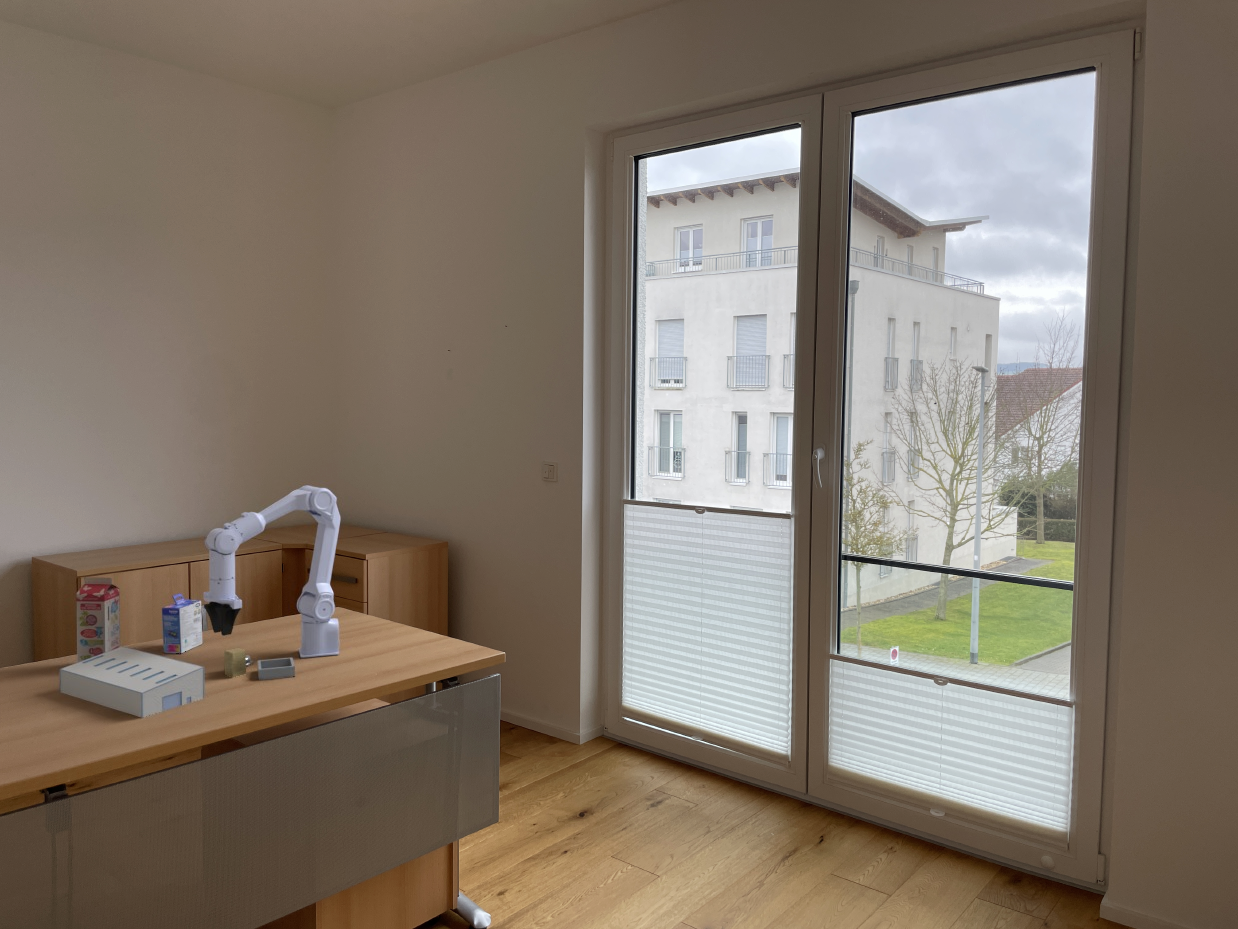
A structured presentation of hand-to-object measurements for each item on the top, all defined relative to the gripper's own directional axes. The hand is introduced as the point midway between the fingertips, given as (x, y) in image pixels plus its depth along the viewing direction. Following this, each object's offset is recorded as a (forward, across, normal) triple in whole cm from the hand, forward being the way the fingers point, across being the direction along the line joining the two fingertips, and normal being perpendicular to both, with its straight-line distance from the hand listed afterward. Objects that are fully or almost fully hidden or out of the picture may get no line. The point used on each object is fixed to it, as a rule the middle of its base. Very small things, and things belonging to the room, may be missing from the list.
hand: (222, 633), depth 210 cm
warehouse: (+10, +2, -22) cm, 24 cm away
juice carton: (+10, -26, -18) cm, 33 cm away
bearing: (+9, -2, +6) cm, 11 cm away
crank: (+9, 0, +4) cm, 9 cm away
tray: (+9, +11, +8) cm, 16 cm away
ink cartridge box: (+10, -26, +3) cm, 28 cm away
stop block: (+9, +5, +1) cm, 11 cm away
